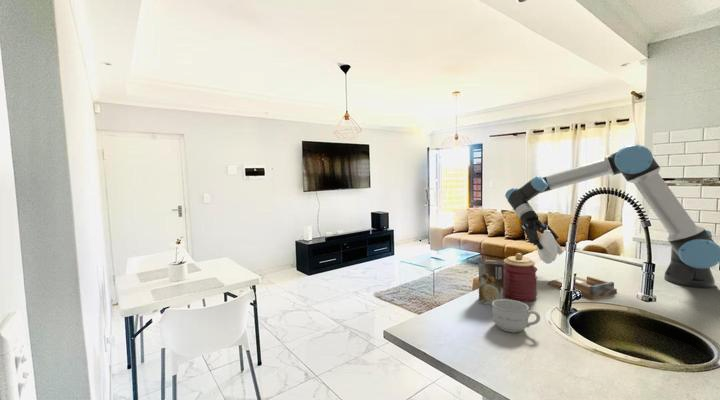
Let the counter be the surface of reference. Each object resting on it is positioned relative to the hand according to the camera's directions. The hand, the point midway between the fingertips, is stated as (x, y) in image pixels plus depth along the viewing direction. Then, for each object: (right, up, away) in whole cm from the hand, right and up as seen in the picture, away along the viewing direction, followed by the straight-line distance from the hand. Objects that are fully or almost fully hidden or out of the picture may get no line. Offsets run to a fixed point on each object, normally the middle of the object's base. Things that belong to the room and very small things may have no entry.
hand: (554, 254), depth 145 cm
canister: (-24, -15, -15) cm, 32 cm away
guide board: (+5, -13, -10) cm, 17 cm away
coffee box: (-37, -15, -20) cm, 45 cm away
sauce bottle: (-1, -5, +4) cm, 6 cm away
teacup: (-38, -17, -42) cm, 59 cm away
